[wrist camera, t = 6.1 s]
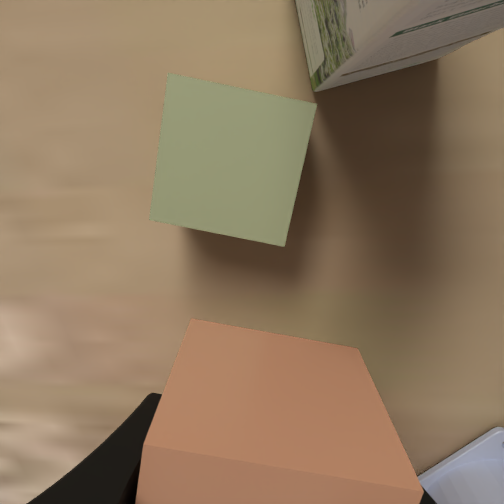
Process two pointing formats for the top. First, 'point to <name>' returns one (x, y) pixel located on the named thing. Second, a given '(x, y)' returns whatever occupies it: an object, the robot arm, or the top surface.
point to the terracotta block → (271, 426)
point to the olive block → (229, 159)
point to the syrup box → (387, 34)
